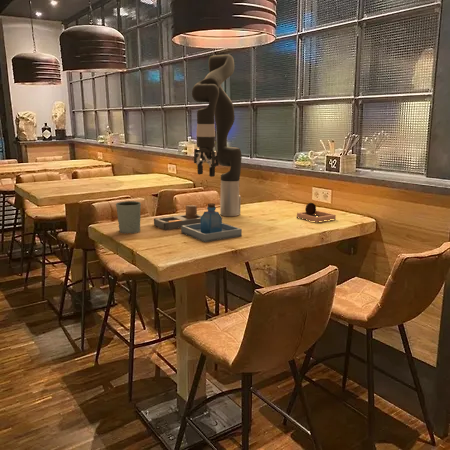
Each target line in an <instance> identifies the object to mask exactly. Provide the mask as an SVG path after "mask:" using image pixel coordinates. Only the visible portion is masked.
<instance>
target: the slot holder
mask: <svg viewBox="0 0 450 450" xmlns="http://www.w3.org/2000/svg"><path fill="white" fill-rule="evenodd" d="M201 217H202V214H198V213H197V218H194V219H187V218H186V214H179V215H174V216H173V215H172V216H164V217H163V216H162V217H156V218H153V225H154V227H155V226H156V227H157V228H160V229H162V230H164V231H168V230H174V229H181V226H183V225H190V224H197V223H201Z"/></svg>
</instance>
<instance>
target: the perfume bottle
mask: <svg viewBox="0 0 450 450" xmlns="http://www.w3.org/2000/svg"><path fill="white" fill-rule="evenodd" d="M206 208H207V209H206V210H207V211H204V212H203V214H201V216H202V217H201V232H202V233H205V234H208V233H215V232H221V231H222V223H223V217H222V215H220V212H219V211H216V210H217V209H216V203H211V202H209V203H207V207H206Z"/></svg>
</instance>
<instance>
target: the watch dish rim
mask: <svg viewBox="0 0 450 450" xmlns="http://www.w3.org/2000/svg"><path fill="white" fill-rule="evenodd" d="M315 214H316V215H320V216H321V217H314V216H310V215H308V214H307V213H306V211H302V212H297V213H296V218H297V217H299V218H303V219H307V220H310V221H315V222H319V221H324V220H330V219H335V220H336V218H337V217H336V216H337V214H334V213H330V212H326V211H320V210H317V209H316V212H315V213H314V214H313V215H315ZM299 218H298V219H299ZM303 219H302V220H303ZM310 221H309V222H310Z"/></svg>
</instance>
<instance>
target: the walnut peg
mask: <svg viewBox="0 0 450 450" xmlns="http://www.w3.org/2000/svg"><path fill="white" fill-rule="evenodd" d="M197 212H198V205H196V204H186V205H185V215H186V218H187V219H194V218H197V214H198V213H197Z"/></svg>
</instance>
